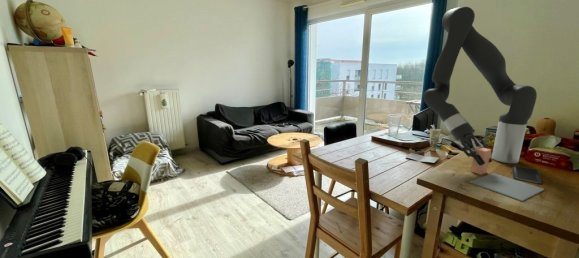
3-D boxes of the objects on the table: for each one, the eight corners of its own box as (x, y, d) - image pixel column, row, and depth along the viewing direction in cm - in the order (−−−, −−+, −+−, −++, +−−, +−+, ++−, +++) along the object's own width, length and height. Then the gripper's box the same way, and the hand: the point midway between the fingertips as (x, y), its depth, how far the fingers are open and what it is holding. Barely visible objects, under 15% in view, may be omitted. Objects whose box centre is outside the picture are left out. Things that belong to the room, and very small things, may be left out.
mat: (493, 174, 98) (493, 173, 98) (544, 190, 85) (544, 189, 85) (469, 182, 91) (470, 181, 90) (522, 201, 78) (522, 200, 78)
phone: (513, 177, 93) (512, 165, 104) (512, 179, 94) (512, 167, 105) (542, 183, 88) (539, 169, 99) (542, 185, 89) (538, 172, 100)
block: (477, 169, 102) (481, 147, 100) (486, 172, 99) (491, 149, 97) (470, 171, 100) (474, 148, 98) (480, 174, 97) (485, 151, 95)
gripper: (456, 123, 98) (485, 162, 91) (476, 120, 104) (505, 156, 97) (440, 133, 104) (467, 171, 96) (461, 129, 110) (487, 164, 103)
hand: (486, 163), depth 97 cm, fingers closed on block, 4 cm apart
